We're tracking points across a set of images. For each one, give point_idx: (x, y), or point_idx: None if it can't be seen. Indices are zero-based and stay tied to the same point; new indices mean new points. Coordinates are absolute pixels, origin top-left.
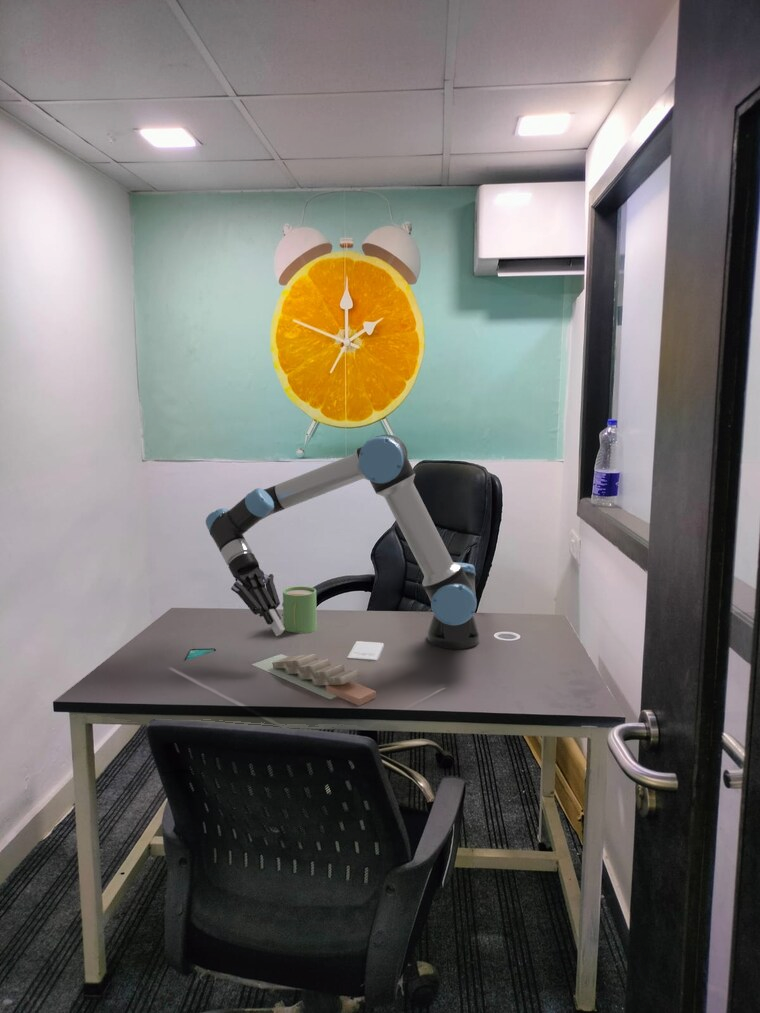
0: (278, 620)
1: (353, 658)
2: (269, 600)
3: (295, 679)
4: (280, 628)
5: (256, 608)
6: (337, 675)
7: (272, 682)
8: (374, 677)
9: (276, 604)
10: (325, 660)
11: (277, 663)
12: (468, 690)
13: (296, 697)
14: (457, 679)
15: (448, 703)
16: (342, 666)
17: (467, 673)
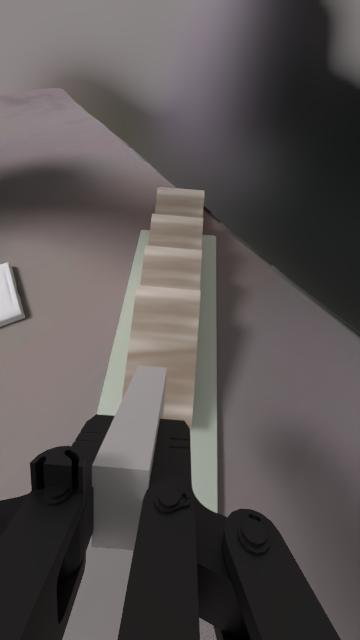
0: (138, 394)
1: (18, 300)
2: (19, 602)
3: (199, 326)
4: (160, 372)
5: (286, 559)
6: (186, 214)
7: (240, 368)
8: (86, 238)
9: (37, 464)
10: (156, 247)
11: (193, 395)
12: (64, 152)
13: (247, 284)
14: (32, 167)
15: (114, 154)
16: (155, 216)
17: (3, 165)
